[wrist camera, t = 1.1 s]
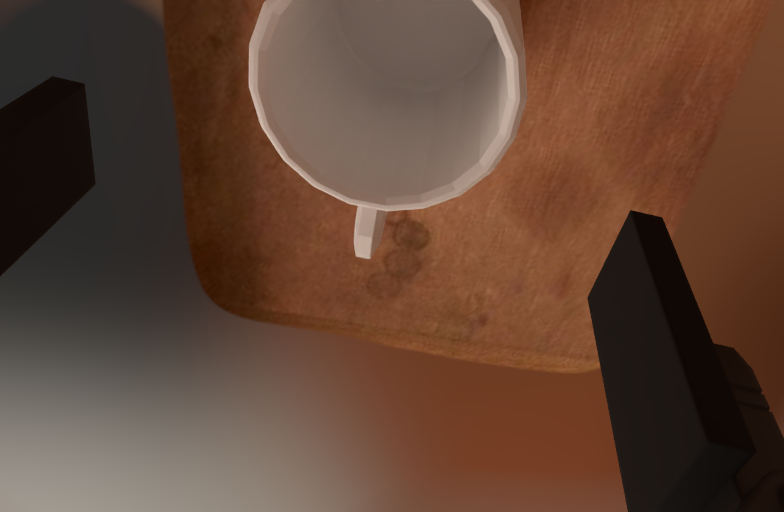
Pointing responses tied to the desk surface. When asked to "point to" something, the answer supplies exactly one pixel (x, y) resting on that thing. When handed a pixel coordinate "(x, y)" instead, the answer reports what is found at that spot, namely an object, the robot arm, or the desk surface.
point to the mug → (389, 97)
